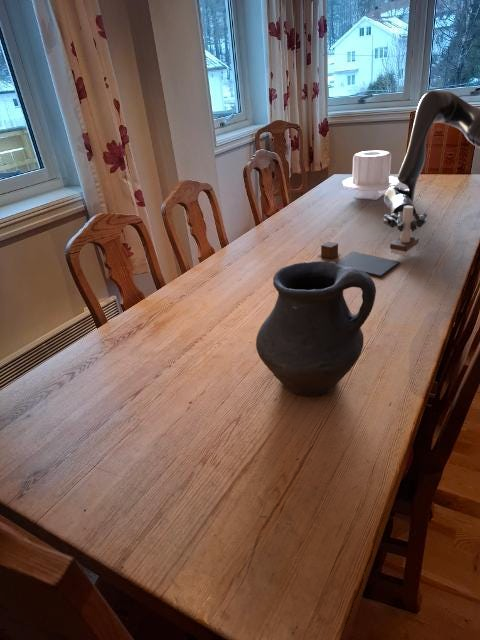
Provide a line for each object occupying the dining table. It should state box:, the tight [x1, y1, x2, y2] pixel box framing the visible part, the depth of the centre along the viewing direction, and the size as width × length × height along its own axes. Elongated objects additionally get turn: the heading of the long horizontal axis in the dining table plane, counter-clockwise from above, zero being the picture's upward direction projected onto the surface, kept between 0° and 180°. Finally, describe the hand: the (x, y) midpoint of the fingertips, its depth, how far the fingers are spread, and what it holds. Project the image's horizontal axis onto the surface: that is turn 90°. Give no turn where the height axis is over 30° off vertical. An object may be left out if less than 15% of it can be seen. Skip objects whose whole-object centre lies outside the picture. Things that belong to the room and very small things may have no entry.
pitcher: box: [255, 260, 377, 397], centre depth 81 cm, size 21×22×25 cm
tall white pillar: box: [389, 206, 420, 257], centre depth 134 cm, size 8×5×14 cm, turn 136°
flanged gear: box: [342, 150, 400, 201], centre depth 196 cm, size 25×25×19 cm
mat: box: [335, 251, 400, 278], centre depth 134 cm, size 16×12×1 cm
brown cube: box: [320, 241, 339, 260], centre depth 142 cm, size 4×4×4 cm
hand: (407, 228), depth 131 cm, fingers closed on tall white pillar, 3 cm apart
